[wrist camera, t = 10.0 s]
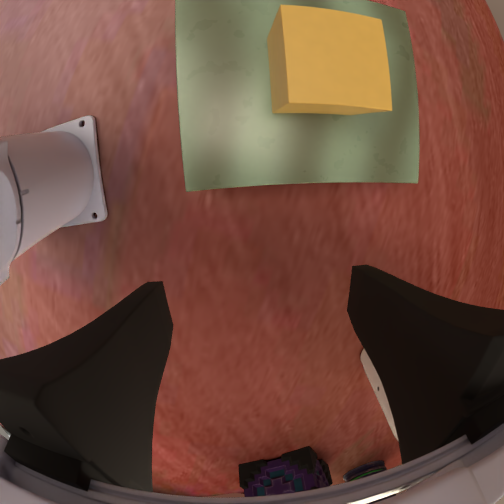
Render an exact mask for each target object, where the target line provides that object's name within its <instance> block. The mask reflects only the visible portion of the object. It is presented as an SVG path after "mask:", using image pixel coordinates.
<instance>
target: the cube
mask: <svg viewBox="0 0 504 504" xmlns="http://www.w3.org/2000/svg"><path fill="white" fill-rule="evenodd" d="M267 46H268V58H269V72H270V86H271V101H272V113H317V114H339V115H357V114H366V113H375V112H385V111H392V97H391V84H390V73H389V64H388V56H387V49H386V42H385V36H384V30H383V24H382V20H381V19H377V18H373V17H369V16H364V15H360V14H355V13H350V12H344V11H338V10H332V9H325V8H317V7H307V6H295V5H280V7H279V9H278V12H277V14H276V17H275V19H274V22H273V24H272V27H271V30H270V32H269V35H268V37H267Z"/></svg>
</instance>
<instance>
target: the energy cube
mask: <svg viewBox="0 0 504 504" xmlns="http://www.w3.org/2000/svg"><path fill="white" fill-rule="evenodd" d="M239 480H240V487H242V488H243V489H244V494H245V497H258V496H271V495H280V494H288V493H296V492H302V491H308V490H314V489H319V488H324V487H329V486H330V485H331V484H332V479H331V475H330V471H329V467H328V464H326V463H325V462H324V461H323V460H322V459H321V460H317V454H316V453H315V452H314V451H313V450H312V449H311V448H310V447H309V446H308V447H305V448H302V449H299V450H295V451H292V452H289V453H285V454H282V457H281V459H277V460H273V461H269V462H266V461H264V460H259V461H254V462H250V463H245V464H240V465H239Z"/></svg>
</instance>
